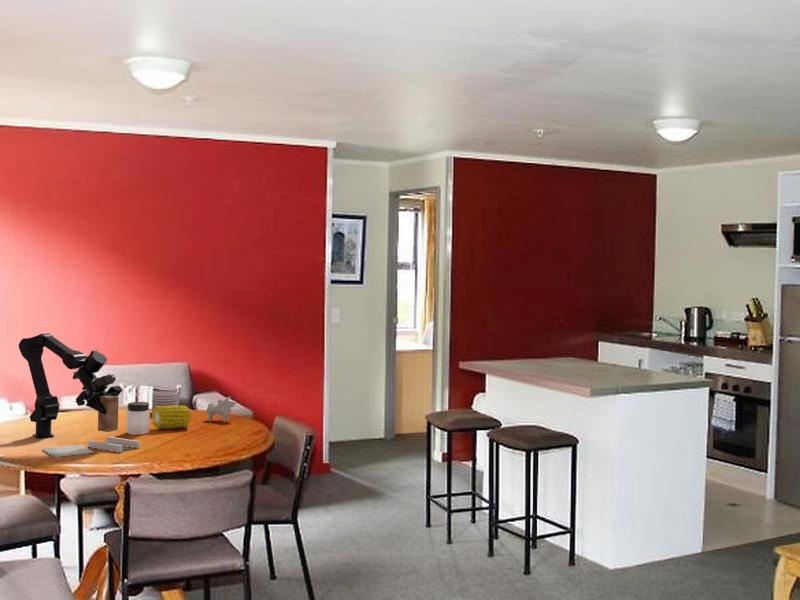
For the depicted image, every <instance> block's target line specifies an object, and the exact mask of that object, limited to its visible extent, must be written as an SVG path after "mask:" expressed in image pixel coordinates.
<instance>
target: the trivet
mask: <svg viewBox="0 0 800 600" xmlns="http://www.w3.org/2000/svg"><path fill="white" fill-rule="evenodd" d="M43 450H44V451H45V453H46V452H47V453H48V454H47V453H46V454H47V455H49V454H50V455H51V456H50V455H49V456H50V457H51V458H53V457H56V458H63V457H62V456H66V457H72V456H71V455H75V456H81V455H82V454H85V455H90V454H89V453H94V454H95V452H94V451H93V450H91V448H88V447H86V446H84V445H83V444H77V445H65V446H57V447H46V448H42V451H43ZM44 451H43V452H44ZM82 456H83V455H82Z"/></svg>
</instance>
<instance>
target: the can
mask: <svg viewBox="0 0 800 600" xmlns="http://www.w3.org/2000/svg"><path fill="white" fill-rule="evenodd" d="M151 391H152V394H151V395H152V398H151V399H152V400H151V402H152V403H151V412H152V411H153V409H154V408H155V407H156V406H169V405H170V406H172V405H173V406H175V405H177V406H179V405H178V403H179V402H178V401H179V400H178V399H179V397H178V396H179V389H178V387H174V386H171V385H153V386H152V390H151Z"/></svg>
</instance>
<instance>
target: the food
mask: <svg viewBox="0 0 800 600" xmlns="http://www.w3.org/2000/svg"><path fill="white" fill-rule="evenodd" d="M151 413H152V414H151V415H152V416H151V417H152V424H153V427H154V428H156V429H159V430H160V429H164V430H166V429H185V428H188V427H189V425H190V424H191V420H192V416H191V415H192V413H191V409H190V408H189V407H188V406H187V405H182V404H181V405H178V406H177V405H175V406H173V405H172V406H170V405H169V406H156V407H155V408H154V409H153V411H152V410H151Z"/></svg>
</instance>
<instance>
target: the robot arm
mask: <svg viewBox="0 0 800 600" xmlns="http://www.w3.org/2000/svg"><path fill="white" fill-rule="evenodd" d="M44 348H46V349H48V350H49V351H50V352H52V353H53V354H55V355H56V356H57V357H59V358H60V359H61V361H62V364H63V365H64V366H65V367H66V368H68V370H76V371H74V372H73V375H72V380H79V382H80V383H81V384H82V388H81V389H82V391H81V392H80V393H79V395H78V396H77V397H76V398H75V403H76V404H77V406H78V407H80V406H85V407H88V408H91V409H93V410H95V411H97V412H100V413H102V414H104V415H106V413H107V412H106V410H105V408H104V407H103V405H102V403H101V402H100V397H102V396H108V395H109V396H117V397H119V396H120V394H121V393H122V392H123V389H122V386H120V385H113V386H110V385H112V384H114V383H115V381H116V376H115V375H114V373H108V374H106V375H102V376H101V377H97V375H96V374H97V373H99V371H100V370H101V369H102V368H103V367H104V366H105V364H106V363H107V361H108V358H107V357H106V356H105V355H104V354H103V353H101V352H99V351H98V350H96V349H93V350H91V351H90V353H89V355H87V354H86V353H84V352H82V351H79V350H75V349H72V348H70V347H69V346H67V345H66V344H65V343H63V342H61V341H60V340H59V339H58V338H56V337H55V336H54V335H53V334H51V333H39V334H38V335H35V336H31V337H24V338H22V339H21V340H20V341H19V343H18V349H19V352H20V354H21V357H23V358H24V359H25V360H26V361H27V363H28V368H29V371H30V374H31V379H32V384H33V387H34V392H35V396H36V398H35V401H34V410H33V411H32V413H31V414H30V415H29V420H30V422H33V423H35V433H32V437H34V438H36V439H41V438H52V437H55V435H54V434H53V433H52V421H54V420H55V421H56V420H57V418H58V414H59V412H60V407H61V406H60V402H59V400H58V398H59V397H58V396H57V395H54V396H53V395H52V393H51V391H50V387H49V383H48V380H47V376H46V375H47V374H46V372H45V367H44V364H43V360H42V356H43V354H44ZM108 386H110V387H108ZM107 389H108V390H107Z"/></svg>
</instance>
